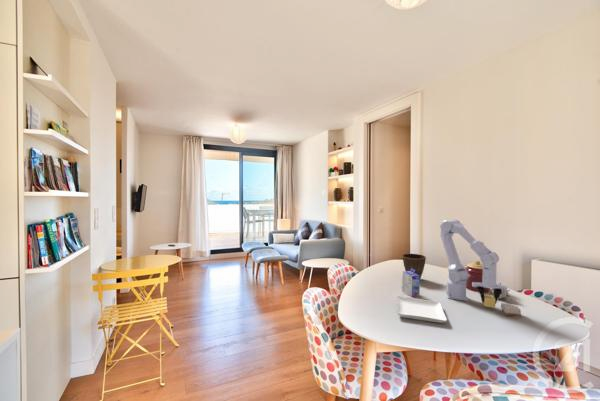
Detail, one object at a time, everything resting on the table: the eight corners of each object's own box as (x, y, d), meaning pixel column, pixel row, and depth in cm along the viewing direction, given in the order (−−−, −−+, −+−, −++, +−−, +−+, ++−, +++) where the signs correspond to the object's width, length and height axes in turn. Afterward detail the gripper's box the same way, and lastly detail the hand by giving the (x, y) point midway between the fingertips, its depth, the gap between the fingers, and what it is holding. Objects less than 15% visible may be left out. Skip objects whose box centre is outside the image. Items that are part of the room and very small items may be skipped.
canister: (493, 289, 158) (494, 261, 158) (484, 294, 151) (485, 264, 151) (470, 283, 169) (470, 256, 169) (461, 287, 162) (461, 259, 161)
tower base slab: (505, 317, 124) (505, 312, 124) (501, 311, 130) (501, 307, 130) (521, 319, 122) (521, 314, 122) (516, 313, 127) (516, 309, 127)
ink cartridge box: (420, 296, 149) (420, 271, 148) (411, 297, 148) (411, 272, 147) (409, 290, 158) (409, 266, 158) (401, 291, 157) (401, 267, 157)
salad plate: (447, 327, 115) (448, 320, 115) (396, 319, 122) (397, 312, 122) (440, 307, 135) (440, 301, 135) (396, 302, 142) (396, 295, 142)
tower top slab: (505, 312, 124) (505, 307, 124) (501, 307, 130) (501, 303, 130) (520, 314, 122) (520, 309, 122) (516, 309, 128) (516, 304, 128)
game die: (504, 306, 144) (516, 296, 138) (488, 299, 145) (499, 289, 139) (499, 293, 151) (511, 283, 145) (484, 287, 152) (495, 277, 146)
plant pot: (413, 283, 169) (413, 259, 169) (397, 277, 183) (397, 254, 183) (430, 281, 175) (430, 257, 174) (413, 274, 188) (413, 252, 188)
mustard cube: (484, 306, 132) (484, 297, 132) (482, 302, 136) (482, 294, 136) (495, 307, 130) (495, 298, 130) (492, 304, 134) (492, 295, 134)
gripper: (474, 276, 132) (473, 302, 132) (509, 280, 126) (508, 307, 126) (471, 272, 138) (470, 297, 139) (504, 276, 132) (504, 302, 133)
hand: (488, 302), depth 133 cm, fingers closed on mustard cube, 4 cm apart
